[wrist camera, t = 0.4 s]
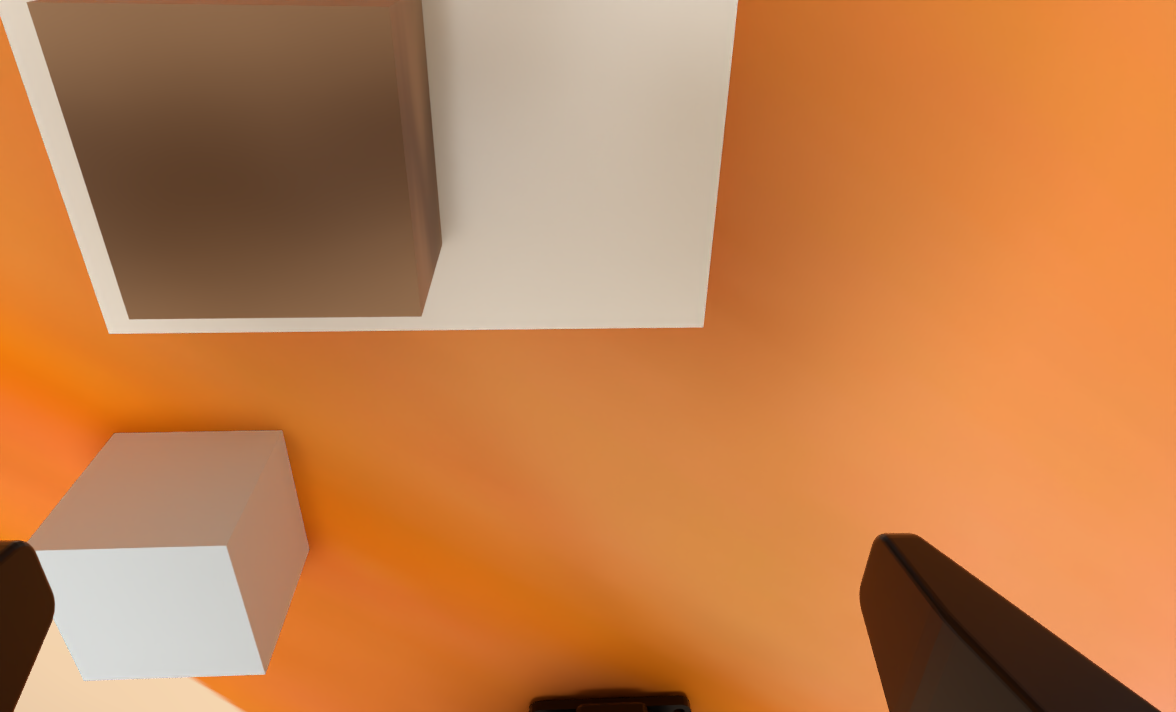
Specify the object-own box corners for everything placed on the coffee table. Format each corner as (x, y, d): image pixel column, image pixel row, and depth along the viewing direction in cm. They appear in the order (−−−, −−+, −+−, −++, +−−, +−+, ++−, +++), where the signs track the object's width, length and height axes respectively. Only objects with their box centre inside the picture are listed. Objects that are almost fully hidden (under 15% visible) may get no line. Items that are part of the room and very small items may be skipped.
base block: (442, 244, 20) (421, 316, 16) (202, 245, 19) (129, 319, 16) (420, -15, 17) (389, 6, 13) (134, -19, 16) (26, 2, 13)
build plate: (697, 310, 22) (703, 327, 21) (126, 316, 21) (109, 333, 20) (742, -143, 17) (753, -145, 16) (-28, -160, 16) (-62, -164, 15)
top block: (310, 547, 26) (265, 674, 22) (159, 551, 26) (83, 681, 22) (282, 428, 24) (226, 545, 19) (115, 431, 23) (19, 551, 19)
